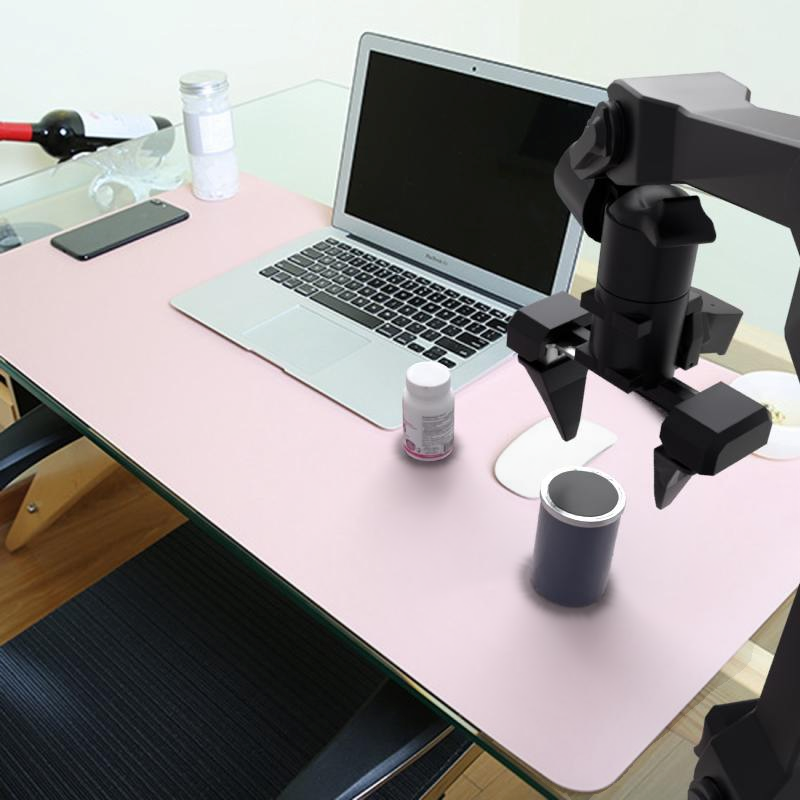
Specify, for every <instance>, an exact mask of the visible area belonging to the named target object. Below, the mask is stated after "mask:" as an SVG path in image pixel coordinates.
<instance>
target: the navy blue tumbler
mask: <svg viewBox="0 0 800 800" xmlns="http://www.w3.org/2000/svg"><path fill="white" fill-rule="evenodd" d="M539 499H540V503H539V510H538V517H537V523H536V524H537V525H536V531H535V538H534V544H533V546H534V547H533V553H532V560H531V566H530V567H531V568H530V577H529V578H530V582H531V584H532V587H533V588H534V589H535V591H536V592H537V593H538V594H539V595H540V597H542V598H544V599H545V600H547V601H548V602H550V603H552V604H555V605H558V606H561V607H567V608H584V607H587V606H590V605H593V604H594V603H596V602H597V601H599V600H600V599H601V598H602V597H603V596H604V595H605V593H606V589H607V585H608V580H609V575H610V572H611V571H610V570H611V567H612V562H613V557H614V552H615V547H616V541H617V537H618V532H619V528H620V523H621V519H622V515H623V513H624V512H625V508H626V504H627V496H626V492H625V490H624V488H623V487H622V485H621V484H620V483H619V482H618V481H617V479H615V478H614V477H612V476H610V474H607V473H605V472H603V471H601V470H598V469H595V468H591V467H586V466H566V467H561V468H558V469H555V470H553V471H551V472H550V473H548V474H547V475H546V476H545V477H544V478H543V480H542V481H541V484H540V489H539Z"/></svg>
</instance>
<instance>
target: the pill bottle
mask: <svg viewBox="0 0 800 800" xmlns="http://www.w3.org/2000/svg"><path fill="white" fill-rule="evenodd" d="M405 373H406V374H405V387H404V389H403V391H402V397H401V401H402V402H401V403H402V405H401V407H402V443H403V444H402V445H403V448H404V451H405V453H406V454H407V455H408V456H409V457H411V458H413V459H415V460H417V461H422V462H436V461H439V460H443V459H445V458H447V457H448V456H449V455H450V454H451V453H452V451H453V449H454V445H455V407H456V402H455V401H456V397H455V395H456V394H455V392H454V389H453V387H452V375H451V371H450V368H448V366H446V365H444V364H442V363H441V362H437V361H428V360H427V361H420V362H416V363H414V364H413V365H411V366H410V367H409V368H408V369H407V370H406V372H405Z"/></svg>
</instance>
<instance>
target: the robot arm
mask: <svg viewBox="0 0 800 800" xmlns="http://www.w3.org/2000/svg"><path fill="white" fill-rule="evenodd" d="M606 94H607V98H608V100H602V101H600V102H598V103H597V105H596V106H595V108H594V110H593V112H592V114H591V116H590V119H588V120H587V122H586V125H585V127H584V130H583V132H582V135H581V136H580V137H579V138H578V140H576V141H575V142H573V143H572V144H571V145H570V146H569V147H568V148H567V149H566V150H565V151H564V153H563V154H562V155H561V157H560V159H559V161H558V164H557V165H556V166H555V168H554V172H553V173H554V174H553V182H554V189H555V192H556V195H558V197H559V198H560V199H561V201H562V202H563V204H564V205H565V206H566V208H567V210H569V212H570V213H571V215H572V216H573V217H574V219H575V220H576V221H577V223H578V225H579V226H580V227H581V228H582V230H583V231H584V233H585V234H586V236H587V237H588V238H590V239H592V240H593V241H594V242H596V243H598V244H600V248H599V257H598V265H597V273H596V281H595V286H594V287H592V288H590V289H587V290H585V291H582V292H581V293H580V299H578V298H577V297H575V296H574V295H572V294H570V293H569V292H567V291H565V290H561V291H559V292H557V293H554V294H552V295H549V296H547V297H545V298H541V299H539V300H537V301H534V302H532V303H530V304H528V305H525V306H522V307H521V308H518V309H516V310H515V311H514V312H513V313H512V315H511V317H510V318H509V319H508V321H507V328H506V343H505V346H506V348H508V349H510V350H511V351H512V352H514V353H516V355H517V356H516V357H517V362H518V363H519V364H520V365H522V367H524V369H525V371H526V373H527V374H528V376H529V378H530V379H531V380H530V381H532V383H533V386H534V387H535V388H536V390H537V392H538V394H539V395H540V398H541V400H542V401H543V403H544V405H545V407H546V409H547V411H548V413H549V415H550V417H551V420H552V422H553V424H554V425H555V427H556V429H557V432H558V433H559V435H560V436H559V437H561V440H563V441H564V442H565V443H567V442H570V441H572V440H573V439H576V437H577V436H578V435H577V434H578V431H579V427H580V423H581V419H582V411H583V405H584V397H585V393H586V392H585V391H586V384H587V379H588V372H589V371H591V372H592V373H594V375H597V376H598V377H600V379H601V378H602V379H603V380H605V381H606V382H608V383H609V384H611V385H612V386H614V387H615V388H617V389H619V390H620V391H622V392H623V393H625V394H626V395H629V394H631V393H636V395H638V396H640V397H641V398H643V399H645V400H646V401H648V402H649V403H651V404H652V405H654V406H656V407H657V408H658V409H660V410H661V409H662V410H664V411H665V412H667V413H668V415H667V414H666V416H665V418H664V419H663V420H662V422H661V424H660V430H659V435H658V437H659V440H660V442H661V444H660V445H658V446H656V447H653V497H654V502H655V507H656V509H658V510H660V511H661V510H663V509H665V508H667V507H668V506H670V505H671V504H672V503H673V502H674V500H675V499H676V498H677V496H678V495H679V494H680V492H681V491H682V490H683V489H684V488H685V487H686V485H687V483H689V481H690V480H691V479H692V477H693V476H696V475H699V476H708V477H714V476H716V475H718V474H719V473H721V472H723V471H724V470H726V469H728V468H730V467H731V466H733V465H734V464H736V463H738V462H739V461H741V460H743V459H744V458H746V457H748V456H749V455H751V454H753V453H754V452H757V451H758V450H759V449H761V448H763V447H764V446H766V445H768V441H769V438H770V435H771V431H772V428H773V424H774V423H773V415H772V412H771V411H770V410H769V408H767V407H766V406H765V405H763V404H762V403H760V402H759V401H756V400H755V399H753V398H751V397H750V396H747V395H746V394H745V393H743V392H741V391H739V390H737V389H736V388H734V387H732V386H730V385H729V384H727V383H725V382H723V381H722V380H721V381H718V382H717V383H715V384H712V385H710V386H709V387H707V388H705V389H703V390H701V391H699V390H697V389H695V388H693V387H692V386H690V385H689V384H687V383H685V382H683V381H682V380H680V379H678V378H677V377H675V371H676V370H678V369H681V370H682V371H685V372H686V371H688V370H691V369H692V368H694V367H697V366H698V365H699V360H700V356H701V355H705V354H717V355H718V356H726V354H727V352H728V349H729V347H730V345H731V343H732V341H733V338H734V336H735V335H736V332H737V329H738V327H739V325H740V323H741V321H742V319H743V316H744V313H745V312H744V311H743V310H742V309H740V308H738V307H737V306H735V305H733V304H730V303H729V302H727V301H725V300H723V299H721V298H719V297H717V296H715V295H713V294H711V293H708V292H707V291H704V290H703V289H700V288H697V287H695V286H692V282H693V276H694V272H695V266H696V261H697V257H698V256H697V254H698V250H699V245H704V244H713V243H715V241H716V240H717V231H716V228H715V223H714V221H713V220H712V218H711V217H709V216H708V214H707V213H706V212H705V210H704V208H703V206H702V201H701V199H700V196H699V195H697V194H695V195H694V194H693V195H690V194H689V193H688V192H687V191H686V190H684V189H683V188H681V187H679V186H677V185H687V186H689V187H691V188H694V189H696V190H698V191H700V192H703V193H704V194H705V193H706V194H708V195H710V196H712V197H715V198H717V199H719V200H722V201H724V202H726V203H729V204H730V205H733V206H736V207H738V208H741V209H743V210H745V211H748V212H749V213H752V214H755V215H757V216H759V217H761V218H763V219H766V220H769V221H771V222H772V223H773V222H774V223H775V224H778V225H781V226H782V227H785V228H788V229H789V230H790V233H791V236H792V239H793V242H794V244H795V247H796V250H797V253H798V256H799V257H800V116H799V115H796V114H789V113H786V112H782V111H778V110H772V109H769V108H763V107H761V106H760V107H759V106H756V105H755V104H753V103H751V97H752V91H751V89H750V88H749V87H748V86H747V85H744V84H743V83H742V82H740V81H738V80H736V79H734V78H733V77H731V76H729V75H728V74H727V73H725V72H722V71H709V72H708V71H707V72H695V73H694V72H693V73H681V74H667V75H653V76H640V77H627V78H626V77H625V78H617V79H613V80H612V82H611V83H609V85H608V86H607V88H606ZM785 319H786V320H785V324H784V327H783V334H784V335H783V337H784V340H785V341H784V342H785V343H786V347H787V350H788V353H789V356H790V359H791V361H792V365H793V368H794V370H795V374H796V377H797V380H798V382H799V384H800V267H799V268H798V272H797V276H796V280H795V284H794V288H793V291H792V296H791V299H790V304H789V308H788V312H787V315H786V318H785ZM662 410H661V411H662ZM693 753H694V755H695V756H696V757H697V758H698V760H697V762H696V765H695V767H694V769H693V770H694V771H693V777H692V778H693V779H692V780H691V782H690V783H689V785H688V786H689V787H688V789H687V800H800V582H799V583H798V587H797V589H796V591H795V595H794V598H793V601H792V604H791V606H790V609H789V613H788V615H787V618H786V621H785V624H784V626H783V630H782V631H781V635H780V638H779V641H778V644H777V647H776V650H775V653H774V656H773V658H772V662H771V664H770V667H769V670H768V673H767V675H766V678H765V681H764V683H763V686H762V689H761V692H760V695H759V697H756V698H750V699H749V698H748V699H744V700H743V699H742V700H738V701H731V702H725V703H719V704H714V705H712V706H711V708H710V709H709V710H708V712H707V713H706V715H705V716H704V720H703V728H702V734H701V738H700V740H699V742H698V744H696V745H695V746H693Z"/></svg>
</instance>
